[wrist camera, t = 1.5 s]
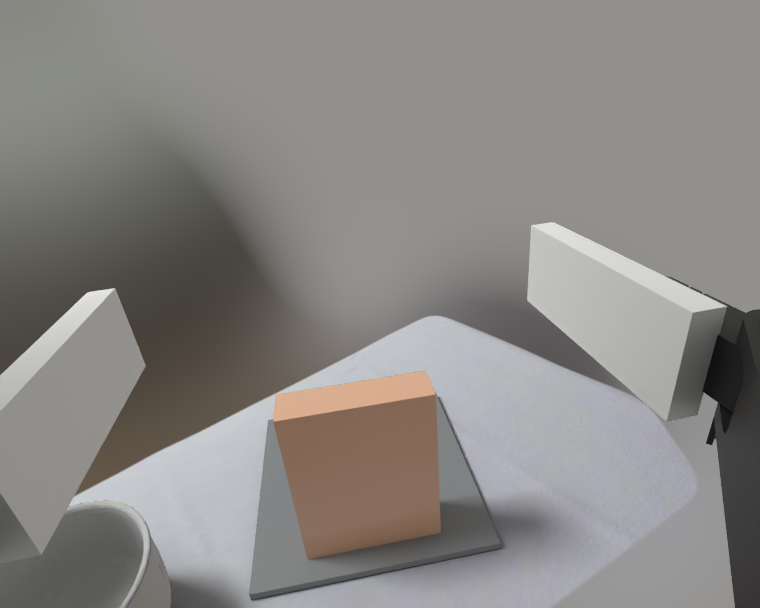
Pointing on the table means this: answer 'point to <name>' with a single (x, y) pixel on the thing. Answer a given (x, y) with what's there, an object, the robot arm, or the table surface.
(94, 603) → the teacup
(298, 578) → the mat
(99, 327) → the robot arm
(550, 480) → the table surface
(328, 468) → the tile
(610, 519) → the table surface
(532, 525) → the table surface
